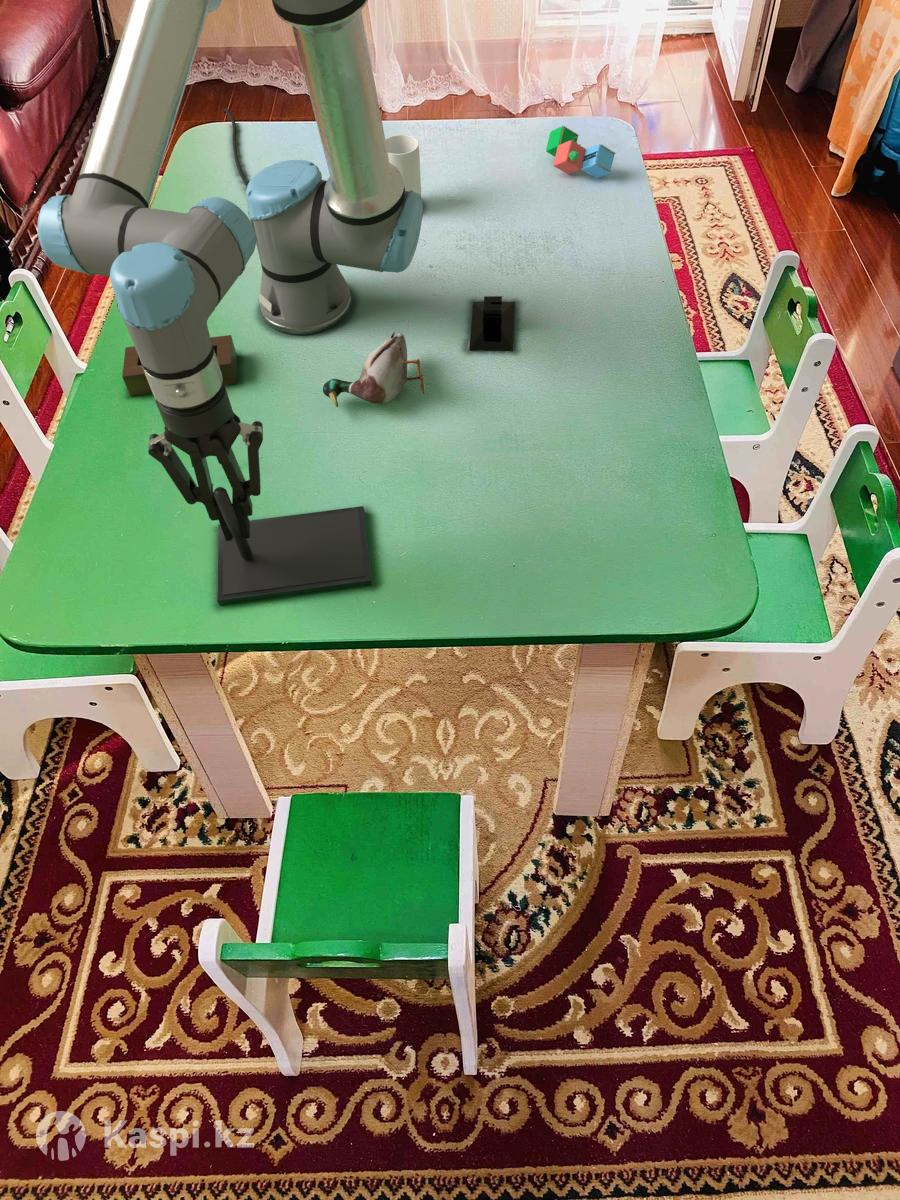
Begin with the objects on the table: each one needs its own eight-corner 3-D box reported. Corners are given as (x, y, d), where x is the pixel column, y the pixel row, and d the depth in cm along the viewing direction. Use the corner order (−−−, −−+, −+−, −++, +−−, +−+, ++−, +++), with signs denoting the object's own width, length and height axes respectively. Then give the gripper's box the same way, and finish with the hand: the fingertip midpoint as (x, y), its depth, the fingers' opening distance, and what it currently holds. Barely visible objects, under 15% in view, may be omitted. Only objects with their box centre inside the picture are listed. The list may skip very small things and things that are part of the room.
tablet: (220, 530, 127) (217, 523, 126) (364, 511, 128) (363, 505, 127) (218, 605, 119) (216, 600, 118) (372, 585, 120) (371, 579, 119)
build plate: (513, 352, 146) (513, 328, 143) (467, 351, 147) (466, 328, 143) (515, 303, 154) (515, 279, 150) (471, 302, 154) (470, 278, 150)
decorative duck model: (313, 388, 134) (324, 319, 142) (326, 425, 140) (335, 357, 148) (415, 379, 132) (420, 310, 140) (424, 417, 138) (427, 348, 146)
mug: (416, 194, 174) (412, 131, 164) (427, 213, 170) (423, 149, 160) (365, 206, 172) (358, 143, 163) (375, 225, 169) (368, 161, 159)
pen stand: (133, 367, 148) (125, 347, 144) (236, 355, 148) (231, 334, 145) (130, 396, 144) (121, 376, 140) (236, 383, 144) (230, 363, 141)
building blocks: (570, 188, 182) (611, 173, 171) (539, 170, 177) (578, 154, 167) (580, 149, 181) (621, 132, 171) (548, 130, 177) (589, 111, 167)
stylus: (241, 552, 122) (211, 485, 109) (253, 550, 122) (225, 483, 109) (241, 562, 122) (212, 496, 108) (253, 561, 122) (225, 494, 108)
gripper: (117, 420, 96) (179, 561, 115) (257, 404, 97) (296, 546, 116) (122, 373, 100) (181, 516, 119) (256, 358, 101) (294, 502, 120)
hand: (237, 531), depth 118 cm, fingers closed on stylus, 1 cm apart
